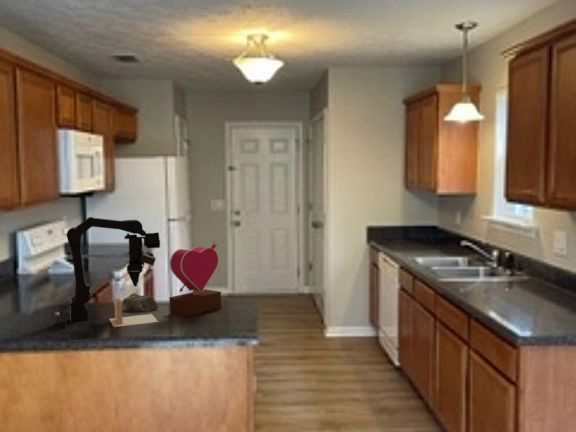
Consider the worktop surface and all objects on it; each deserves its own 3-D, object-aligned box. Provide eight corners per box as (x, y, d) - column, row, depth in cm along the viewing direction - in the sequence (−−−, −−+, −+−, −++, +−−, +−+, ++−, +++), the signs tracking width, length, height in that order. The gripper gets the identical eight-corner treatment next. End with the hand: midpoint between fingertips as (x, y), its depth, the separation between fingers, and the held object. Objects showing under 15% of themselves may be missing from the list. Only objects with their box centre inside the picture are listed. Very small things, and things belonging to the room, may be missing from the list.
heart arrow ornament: (210, 304, 284) (208, 240, 282) (226, 306, 278) (224, 242, 275) (169, 314, 265) (167, 246, 263) (185, 317, 259) (182, 248, 256)
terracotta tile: (117, 324, 247) (116, 302, 247) (115, 320, 255) (114, 298, 254) (122, 323, 248) (121, 302, 248) (119, 319, 256) (119, 298, 255)
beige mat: (113, 328, 243) (113, 326, 243) (109, 319, 257) (109, 318, 257) (158, 322, 251) (158, 321, 250) (151, 315, 264) (151, 314, 264)
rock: (116, 302, 271) (127, 292, 280) (119, 315, 273) (130, 305, 282) (150, 302, 266) (160, 292, 275) (153, 316, 268) (163, 305, 277)
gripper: (153, 251, 255) (154, 287, 256) (155, 245, 273) (155, 280, 274) (126, 251, 253) (127, 288, 254) (130, 246, 271) (130, 280, 272)
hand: (136, 284), depth 264 cm, fingers open, 9 cm apart
